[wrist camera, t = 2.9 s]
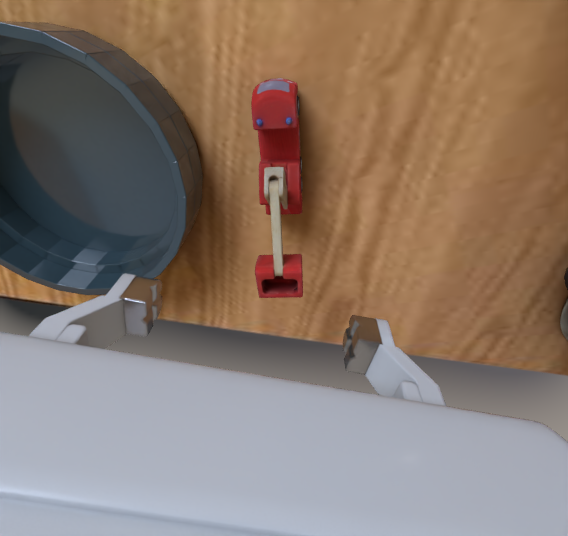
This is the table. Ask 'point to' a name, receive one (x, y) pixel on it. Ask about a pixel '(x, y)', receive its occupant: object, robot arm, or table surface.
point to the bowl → (89, 162)
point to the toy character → (565, 312)
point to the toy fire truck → (278, 181)
